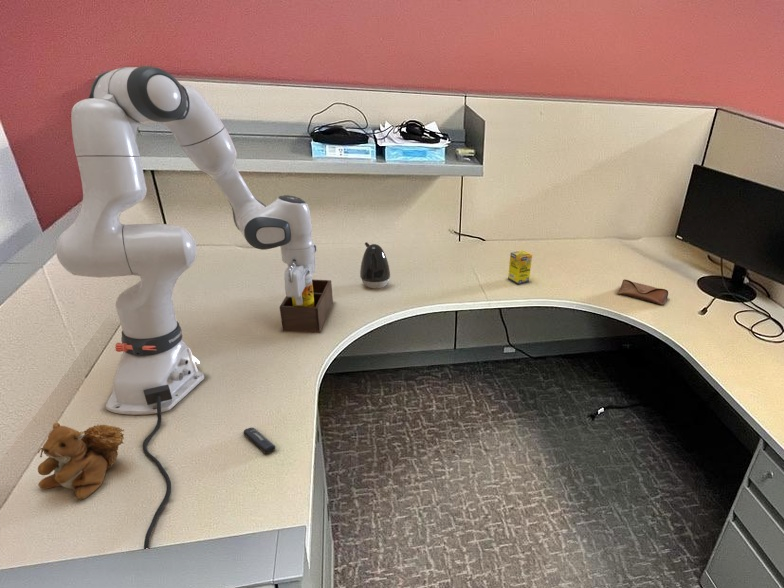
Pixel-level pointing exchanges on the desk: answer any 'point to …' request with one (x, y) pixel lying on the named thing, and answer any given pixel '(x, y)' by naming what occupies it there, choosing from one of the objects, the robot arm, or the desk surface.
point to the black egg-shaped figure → (374, 267)
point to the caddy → (308, 310)
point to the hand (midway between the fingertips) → (303, 298)
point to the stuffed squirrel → (79, 457)
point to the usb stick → (259, 440)
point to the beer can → (306, 293)
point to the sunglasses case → (643, 292)
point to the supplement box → (519, 267)
